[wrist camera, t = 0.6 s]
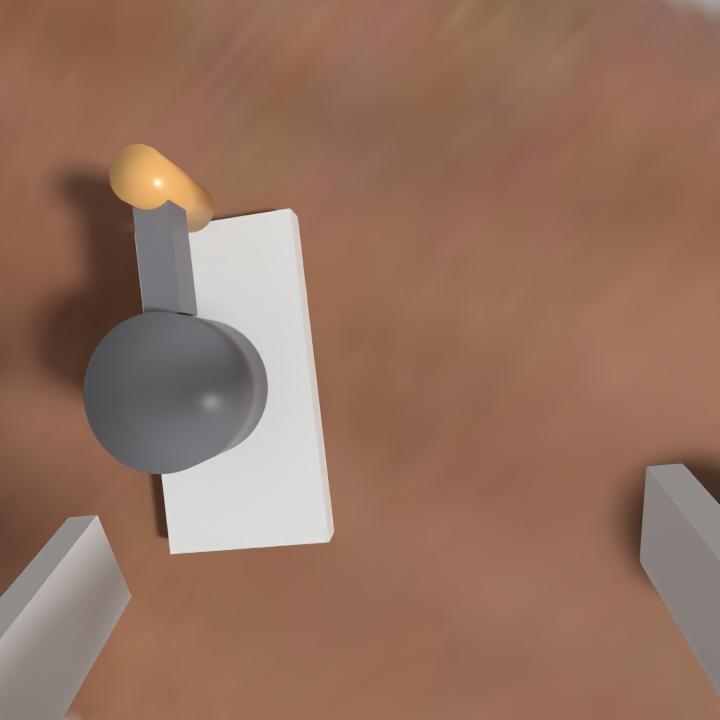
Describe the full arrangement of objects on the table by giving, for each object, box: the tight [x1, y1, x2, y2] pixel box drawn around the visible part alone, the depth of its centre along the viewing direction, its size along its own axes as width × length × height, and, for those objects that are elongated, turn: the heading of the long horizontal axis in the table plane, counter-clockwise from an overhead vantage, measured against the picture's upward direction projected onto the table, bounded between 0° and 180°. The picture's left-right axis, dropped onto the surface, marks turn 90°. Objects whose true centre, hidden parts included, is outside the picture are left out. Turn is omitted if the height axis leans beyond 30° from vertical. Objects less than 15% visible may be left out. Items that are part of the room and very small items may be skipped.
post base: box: [134, 209, 334, 554], centre depth 34 cm, size 22×11×6 cm, turn 7°
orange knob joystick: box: [83, 144, 268, 474], centre depth 29 cm, size 16×8×6 cm, turn 7°
